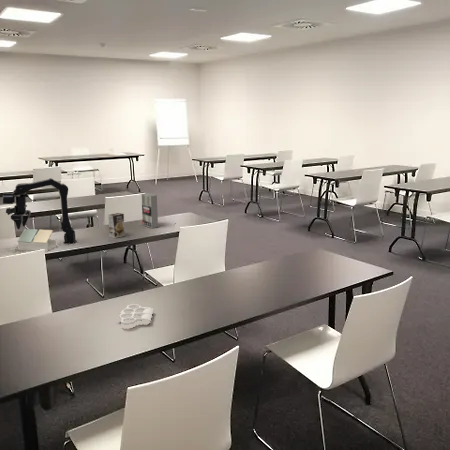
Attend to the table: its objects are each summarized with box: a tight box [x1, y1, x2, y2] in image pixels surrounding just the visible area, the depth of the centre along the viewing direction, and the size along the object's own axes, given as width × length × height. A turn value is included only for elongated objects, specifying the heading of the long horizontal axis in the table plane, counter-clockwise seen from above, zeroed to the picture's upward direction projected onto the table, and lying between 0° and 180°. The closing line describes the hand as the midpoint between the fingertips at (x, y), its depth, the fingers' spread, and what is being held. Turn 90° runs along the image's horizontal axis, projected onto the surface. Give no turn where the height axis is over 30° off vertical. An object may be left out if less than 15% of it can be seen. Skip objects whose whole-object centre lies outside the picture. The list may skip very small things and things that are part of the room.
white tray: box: [17, 237, 58, 252], centre depth 285 cm, size 20×12×5 cm, turn 80°
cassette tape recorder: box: [140, 192, 159, 229], centre depth 339 cm, size 14×6×25 cm, turn 42°
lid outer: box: [17, 228, 39, 243], centre depth 283 cm, size 9×10×1 cm
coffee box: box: [107, 212, 126, 239], centre depth 311 cm, size 9×6×16 cm
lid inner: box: [33, 229, 54, 243], centre depth 281 cm, size 9×10×1 cm
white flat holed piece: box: [118, 303, 155, 325], centre depth 184 cm, size 3×18×15 cm
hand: (21, 227), depth 282 cm, fingers open, 9 cm apart
